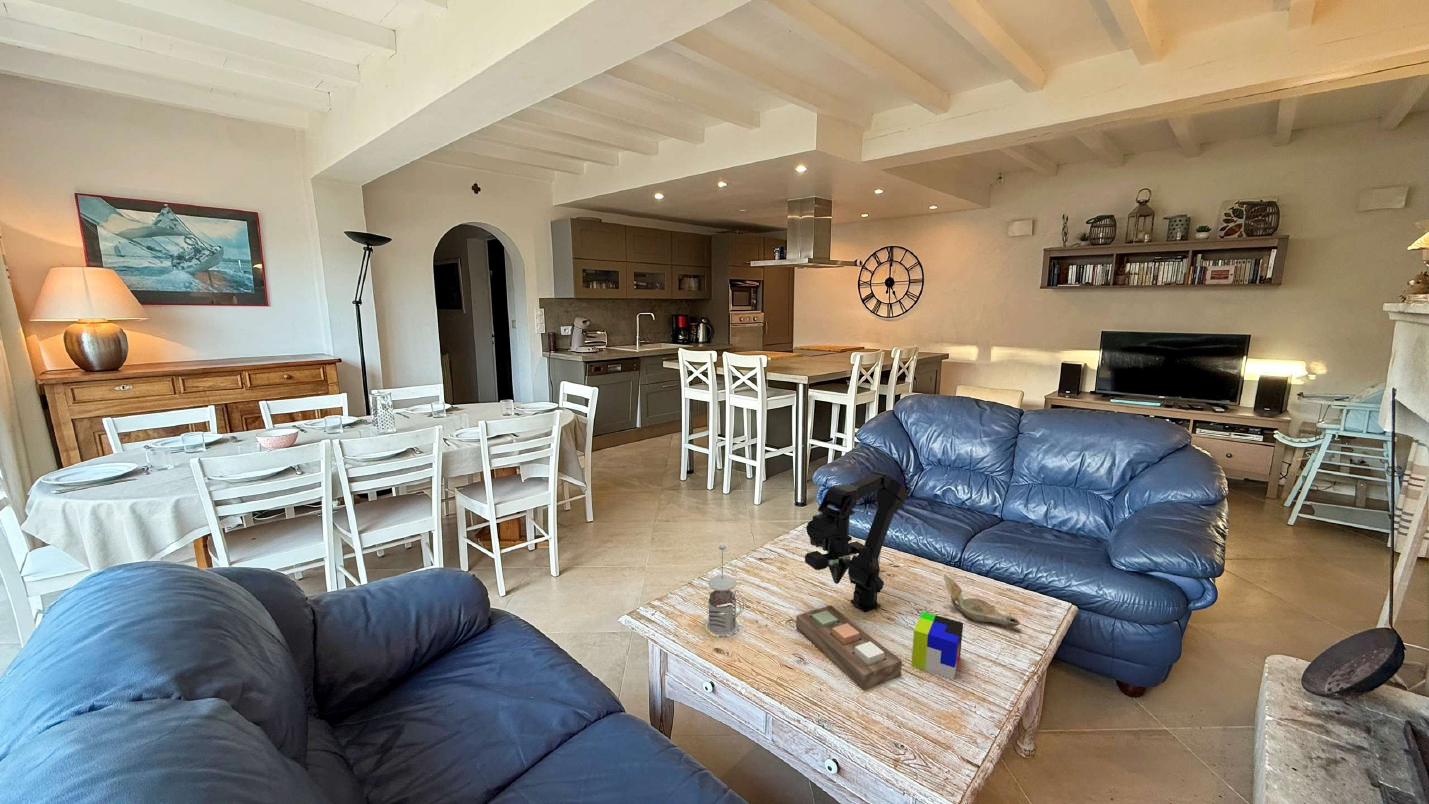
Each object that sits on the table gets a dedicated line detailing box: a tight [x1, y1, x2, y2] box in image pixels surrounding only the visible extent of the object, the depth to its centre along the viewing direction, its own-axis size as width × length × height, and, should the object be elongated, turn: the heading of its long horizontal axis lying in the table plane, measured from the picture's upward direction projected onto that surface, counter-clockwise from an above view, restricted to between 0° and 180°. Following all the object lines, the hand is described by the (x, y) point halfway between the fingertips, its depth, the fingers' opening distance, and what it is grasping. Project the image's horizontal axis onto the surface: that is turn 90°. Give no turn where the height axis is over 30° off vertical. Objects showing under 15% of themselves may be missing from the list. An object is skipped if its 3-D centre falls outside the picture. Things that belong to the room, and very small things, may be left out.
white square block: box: [854, 641, 884, 666], centre depth 138 cm, size 5×5×3 cm
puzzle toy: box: [911, 611, 964, 681], centre depth 141 cm, size 10×10×10 cm
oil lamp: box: [943, 574, 1021, 628], centre depth 161 cm, size 9×21×10 cm, turn 47°
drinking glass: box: [860, 540, 882, 565], centre depth 188 cm, size 7×7×10 cm
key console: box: [795, 605, 903, 691], centre depth 147 cm, size 12×28×4 cm, turn 26°
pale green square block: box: [812, 610, 838, 628], centre depth 154 cm, size 5×5×3 cm
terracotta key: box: [832, 623, 860, 646], centre depth 146 cm, size 5×5×3 cm
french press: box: [706, 543, 745, 636], centre depth 155 cm, size 10×12×25 cm
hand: (836, 583), depth 158 cm, fingers closed
